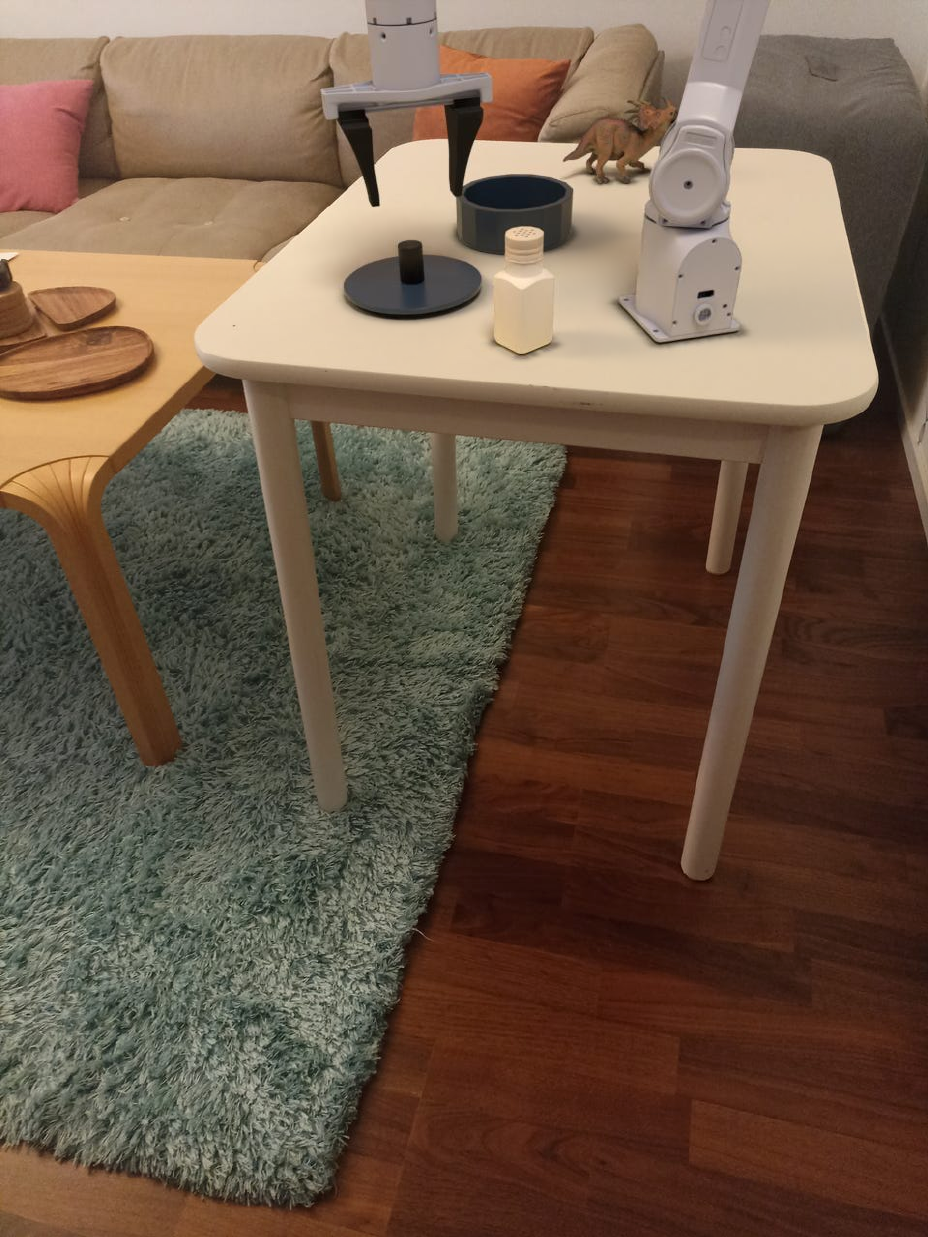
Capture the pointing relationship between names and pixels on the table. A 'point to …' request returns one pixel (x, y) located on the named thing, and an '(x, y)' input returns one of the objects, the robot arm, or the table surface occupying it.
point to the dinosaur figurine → (624, 139)
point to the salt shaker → (523, 293)
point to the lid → (412, 282)
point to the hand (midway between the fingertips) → (415, 198)
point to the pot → (513, 210)
